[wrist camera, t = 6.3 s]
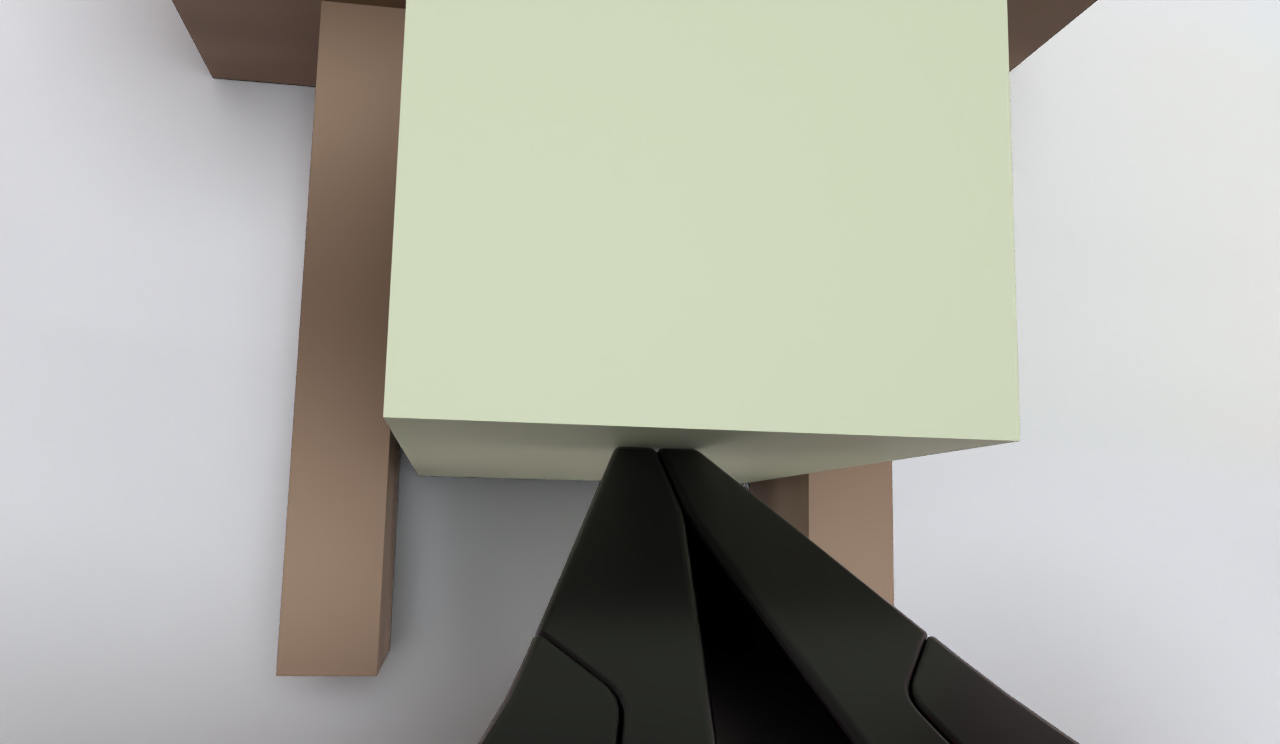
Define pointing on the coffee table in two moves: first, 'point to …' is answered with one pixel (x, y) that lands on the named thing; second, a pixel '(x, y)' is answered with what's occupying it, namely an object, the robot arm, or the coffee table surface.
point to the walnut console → (358, 328)
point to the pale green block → (701, 234)
